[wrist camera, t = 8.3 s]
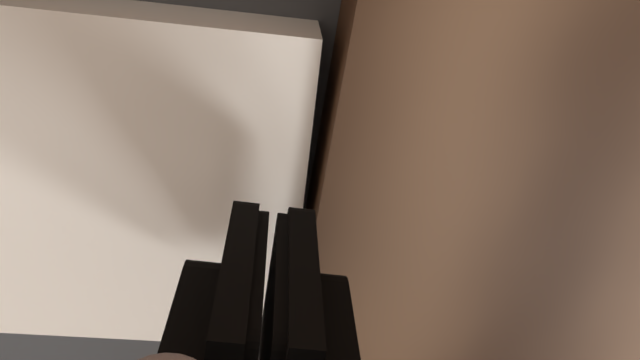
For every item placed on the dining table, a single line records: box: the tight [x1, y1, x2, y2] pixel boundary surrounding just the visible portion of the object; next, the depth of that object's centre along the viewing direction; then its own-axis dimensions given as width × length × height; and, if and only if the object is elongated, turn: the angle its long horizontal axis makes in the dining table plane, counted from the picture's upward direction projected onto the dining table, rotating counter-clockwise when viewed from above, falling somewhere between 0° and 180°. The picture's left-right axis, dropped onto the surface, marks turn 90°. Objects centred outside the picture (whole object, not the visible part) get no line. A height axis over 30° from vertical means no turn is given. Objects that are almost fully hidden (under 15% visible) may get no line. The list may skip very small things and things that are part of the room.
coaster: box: [0, 0, 323, 341], centre depth 13 cm, size 8×8×2 cm
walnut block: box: [306, 0, 640, 360], centre depth 14 cm, size 12×14×3 cm
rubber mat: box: [0, 0, 341, 360], centre depth 14 cm, size 13×18×1 cm
